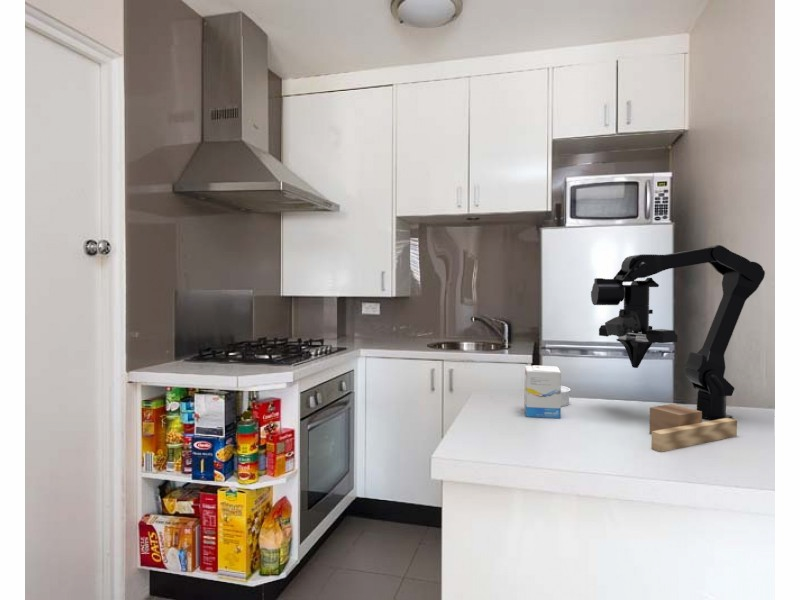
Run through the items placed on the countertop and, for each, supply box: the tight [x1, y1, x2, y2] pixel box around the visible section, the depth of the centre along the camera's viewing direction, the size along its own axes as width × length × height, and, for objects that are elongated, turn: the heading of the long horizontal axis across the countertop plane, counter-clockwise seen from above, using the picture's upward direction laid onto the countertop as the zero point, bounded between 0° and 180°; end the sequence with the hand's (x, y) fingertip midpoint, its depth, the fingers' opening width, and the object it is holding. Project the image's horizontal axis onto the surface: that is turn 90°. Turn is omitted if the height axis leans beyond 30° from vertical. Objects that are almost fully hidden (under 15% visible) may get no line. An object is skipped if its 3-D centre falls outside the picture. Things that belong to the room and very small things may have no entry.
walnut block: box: [649, 403, 703, 435], centre depth 105 cm, size 7×7×6 cm
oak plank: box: [650, 418, 738, 453], centre depth 101 cm, size 24×2×4 cm, turn 114°
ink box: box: [523, 364, 562, 419], centre depth 123 cm, size 9×8×12 cm
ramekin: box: [561, 385, 571, 407], centre depth 134 cm, size 9×9×4 cm
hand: (635, 367), depth 121 cm, fingers closed
